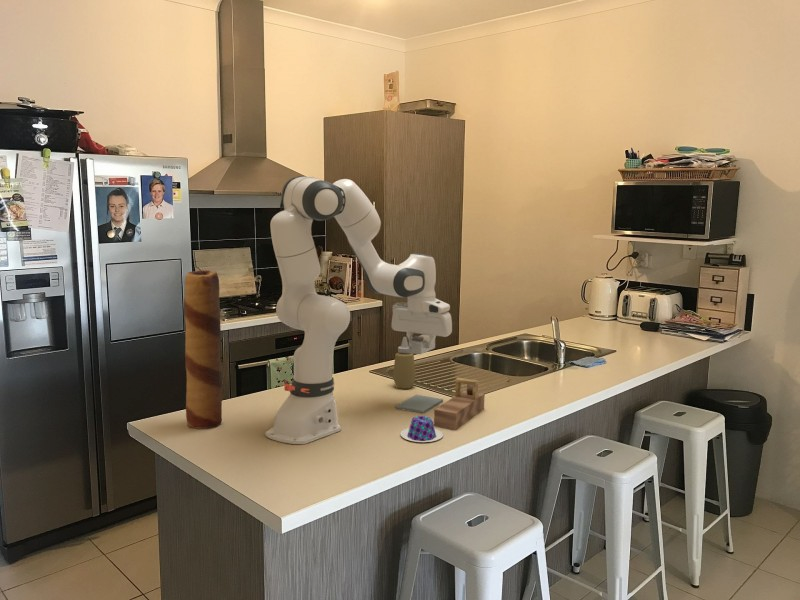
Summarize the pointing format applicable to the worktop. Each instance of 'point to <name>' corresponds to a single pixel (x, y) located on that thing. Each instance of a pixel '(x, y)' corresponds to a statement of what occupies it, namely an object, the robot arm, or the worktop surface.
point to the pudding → (421, 430)
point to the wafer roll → (203, 349)
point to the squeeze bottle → (404, 367)
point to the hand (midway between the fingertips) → (420, 347)
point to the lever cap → (420, 344)
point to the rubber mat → (419, 403)
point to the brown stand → (460, 406)
